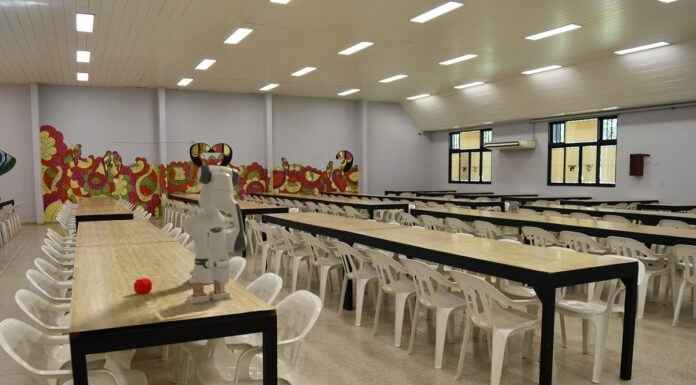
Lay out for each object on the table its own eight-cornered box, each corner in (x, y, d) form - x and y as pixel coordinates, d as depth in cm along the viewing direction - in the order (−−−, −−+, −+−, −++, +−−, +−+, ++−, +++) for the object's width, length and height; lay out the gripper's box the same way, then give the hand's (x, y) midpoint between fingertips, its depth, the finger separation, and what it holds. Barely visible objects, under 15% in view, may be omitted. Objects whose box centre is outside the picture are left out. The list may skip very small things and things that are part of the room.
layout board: (185, 300, 239) (185, 292, 239) (222, 294, 249) (221, 287, 249) (194, 308, 224) (194, 300, 224) (233, 302, 233) (233, 294, 233)
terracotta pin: (214, 296, 240) (213, 280, 239) (222, 295, 242) (221, 279, 241) (216, 298, 236) (216, 281, 236) (224, 297, 238) (224, 280, 238)
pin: (193, 300, 234) (192, 283, 234) (201, 298, 237) (201, 282, 236) (195, 301, 231) (194, 284, 231) (204, 300, 233) (203, 283, 233)
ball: (145, 291, 262) (144, 276, 262) (154, 292, 258) (154, 278, 258) (131, 294, 255) (131, 279, 255) (141, 295, 251) (141, 281, 251)
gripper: (206, 259, 246) (206, 286, 246) (217, 264, 228) (218, 294, 229) (218, 257, 249) (219, 284, 249) (231, 263, 231) (232, 292, 232)
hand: (219, 289), depth 239 cm, fingers open, 8 cm apart
